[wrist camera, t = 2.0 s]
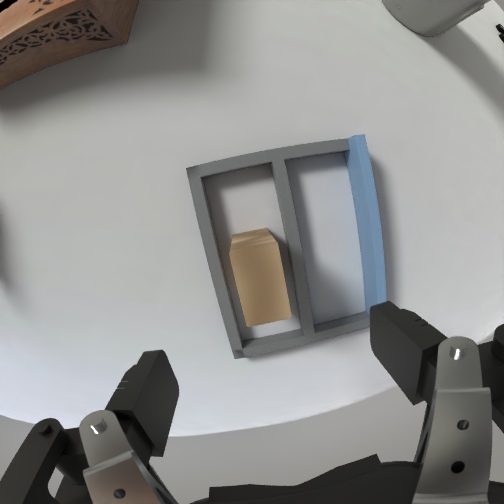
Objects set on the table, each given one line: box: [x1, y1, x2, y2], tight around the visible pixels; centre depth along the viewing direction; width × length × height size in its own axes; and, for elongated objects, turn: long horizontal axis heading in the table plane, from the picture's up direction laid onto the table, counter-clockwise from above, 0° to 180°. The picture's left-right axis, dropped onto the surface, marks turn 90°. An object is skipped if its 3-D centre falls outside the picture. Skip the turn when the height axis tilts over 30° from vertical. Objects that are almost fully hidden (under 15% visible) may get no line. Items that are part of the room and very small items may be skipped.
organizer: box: [186, 134, 386, 359], centre depth 23 cm, size 15×18×3 cm
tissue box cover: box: [0, 0, 139, 89], centre depth 13 cm, size 26×14×10 cm, turn 88°
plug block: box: [229, 228, 292, 327], centre depth 21 cm, size 3×5×8 cm, turn 12°
